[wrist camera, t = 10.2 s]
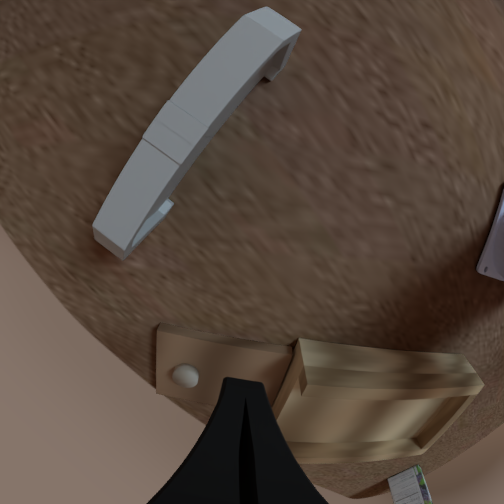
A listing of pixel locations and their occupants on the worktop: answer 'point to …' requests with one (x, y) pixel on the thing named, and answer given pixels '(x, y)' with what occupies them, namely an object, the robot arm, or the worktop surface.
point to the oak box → (369, 401)
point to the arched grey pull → (191, 126)
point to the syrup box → (409, 487)
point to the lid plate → (214, 363)
